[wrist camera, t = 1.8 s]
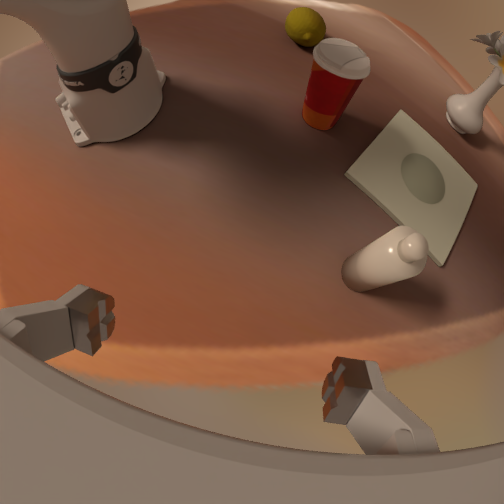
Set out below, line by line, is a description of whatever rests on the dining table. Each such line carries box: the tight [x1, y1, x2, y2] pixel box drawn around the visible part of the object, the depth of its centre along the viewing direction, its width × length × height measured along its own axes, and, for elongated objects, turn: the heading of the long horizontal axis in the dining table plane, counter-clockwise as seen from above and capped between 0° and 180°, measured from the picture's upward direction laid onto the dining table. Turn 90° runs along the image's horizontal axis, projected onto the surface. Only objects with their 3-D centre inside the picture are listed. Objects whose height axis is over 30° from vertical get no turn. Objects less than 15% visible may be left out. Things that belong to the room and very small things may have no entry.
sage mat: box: [344, 110, 478, 267], centre depth 41 cm, size 20×20×1 cm
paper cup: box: [302, 38, 370, 130], centre depth 36 cm, size 8×8×14 cm
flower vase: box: [446, 31, 504, 134], centre depth 34 cm, size 13×18×25 cm
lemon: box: [285, 7, 326, 47], centre depth 44 cm, size 11×8×8 cm
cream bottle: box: [341, 226, 429, 292], centre depth 30 cm, size 5×5×14 cm
